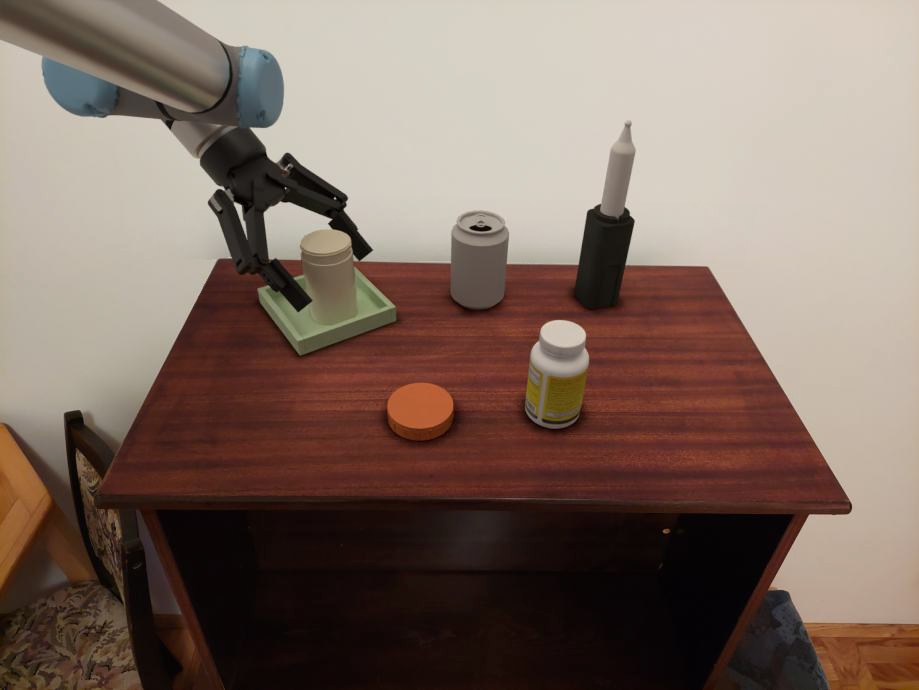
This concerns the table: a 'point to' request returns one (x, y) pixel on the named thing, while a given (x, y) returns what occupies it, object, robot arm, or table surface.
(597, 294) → the candle
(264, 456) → the table surface
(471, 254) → the can
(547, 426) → the pill bottle
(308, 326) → the tray
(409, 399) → the lid
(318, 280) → the jar
